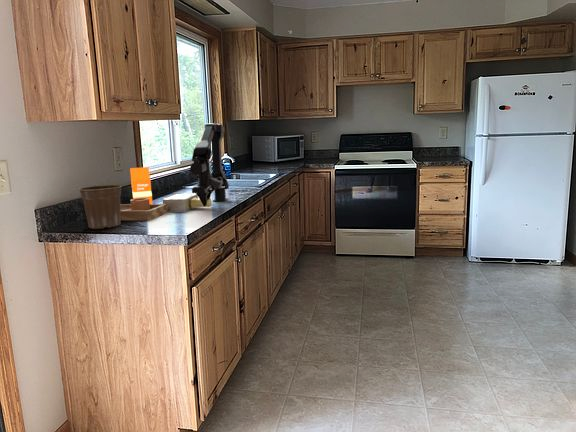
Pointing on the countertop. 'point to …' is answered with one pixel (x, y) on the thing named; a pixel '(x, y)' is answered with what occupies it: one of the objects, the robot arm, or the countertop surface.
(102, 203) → the plant pot
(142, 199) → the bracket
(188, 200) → the white rectangular box
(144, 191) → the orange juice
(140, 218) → the tray
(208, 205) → the end cover
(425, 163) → the countertop surface
